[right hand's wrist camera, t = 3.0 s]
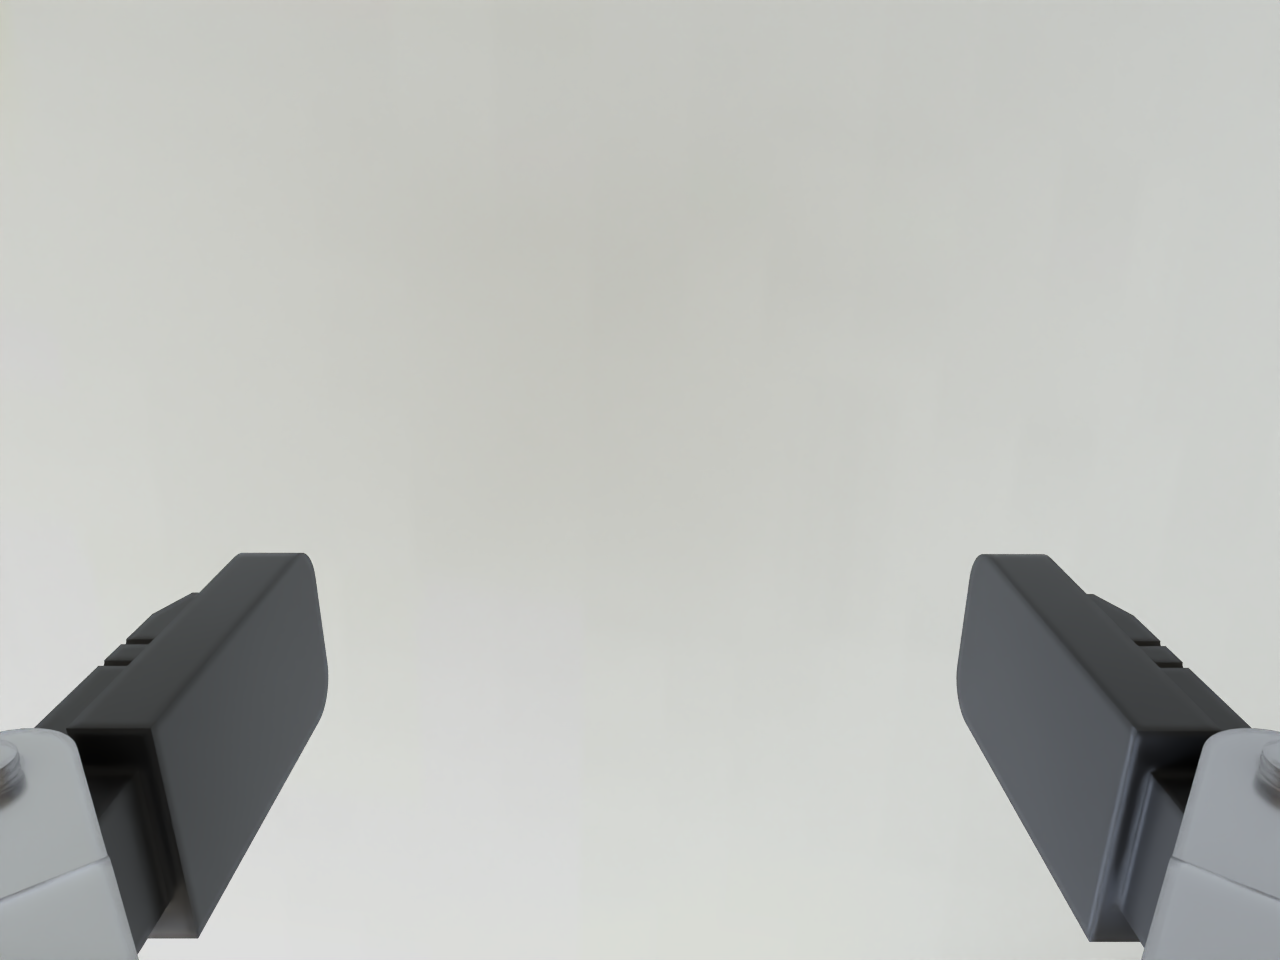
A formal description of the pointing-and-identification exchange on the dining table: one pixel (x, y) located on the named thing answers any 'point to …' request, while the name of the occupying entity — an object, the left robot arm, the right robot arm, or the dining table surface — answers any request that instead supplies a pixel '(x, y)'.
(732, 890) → the dining table surface
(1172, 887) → the right robot arm
